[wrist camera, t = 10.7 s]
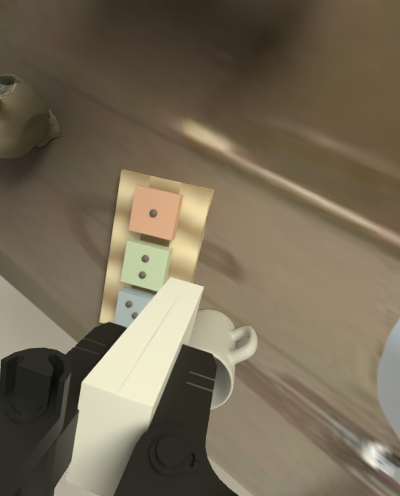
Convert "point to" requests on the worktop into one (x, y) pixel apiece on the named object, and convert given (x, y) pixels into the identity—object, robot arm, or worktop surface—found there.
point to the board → (183, 243)
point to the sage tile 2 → (146, 264)
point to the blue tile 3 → (130, 305)
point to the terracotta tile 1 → (155, 212)
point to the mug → (222, 348)
